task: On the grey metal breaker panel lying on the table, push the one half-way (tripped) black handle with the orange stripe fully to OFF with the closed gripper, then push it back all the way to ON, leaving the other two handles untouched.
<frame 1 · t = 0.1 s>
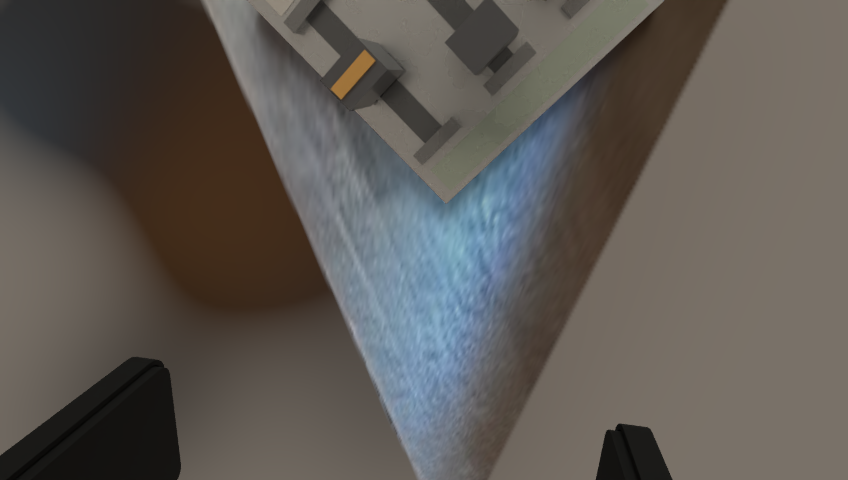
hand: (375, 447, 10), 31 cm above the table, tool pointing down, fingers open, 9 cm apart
panel: (447, 2, 36), on the table
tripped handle: (364, 75, 33), point 5 cm above the table, slide at 0.0 cm
handle middle: (483, 39, 31), point 5 cm above the table, slide at 4.0 cm
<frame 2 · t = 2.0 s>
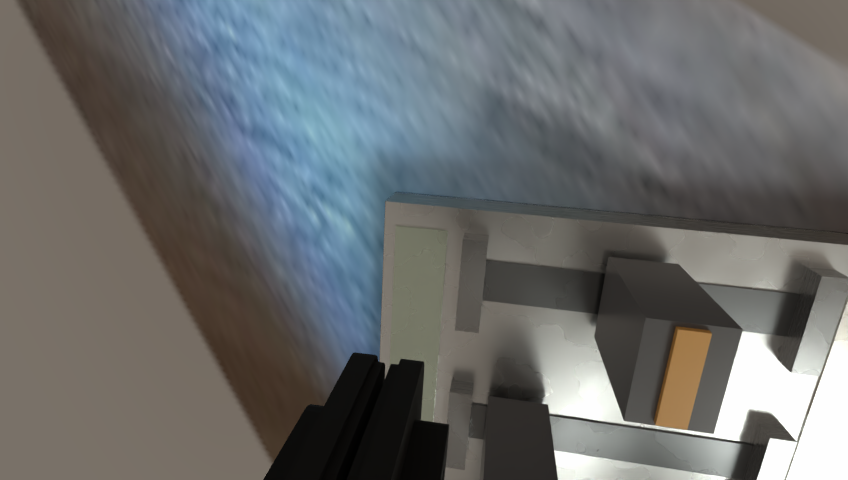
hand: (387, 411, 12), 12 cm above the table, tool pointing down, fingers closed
panel: (595, 412, 24), on the table
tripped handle: (655, 335, 17), point 5 cm above the table, slide at 0.0 cm
handle middle: (514, 478, 20), point 5 cm above the table, slide at 4.0 cm
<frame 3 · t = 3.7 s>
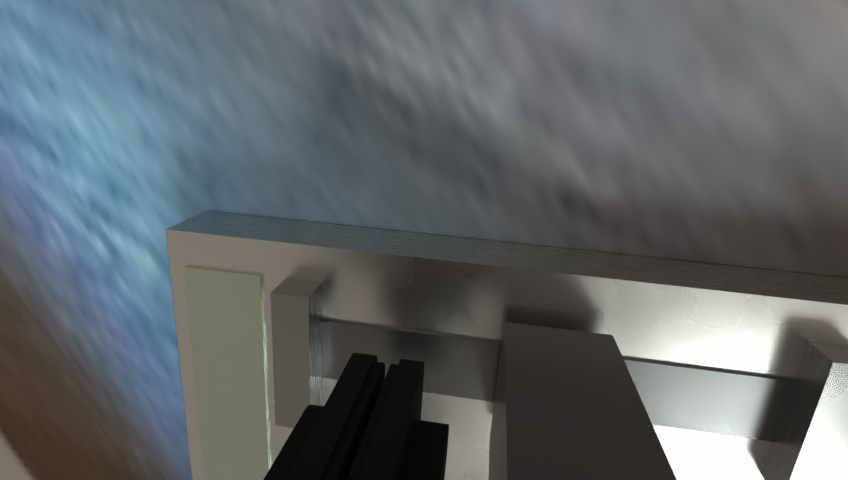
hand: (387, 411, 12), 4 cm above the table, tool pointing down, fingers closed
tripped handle: (560, 472, 10), point 5 cm above the table, slide at -0.2 cm, touching gripper
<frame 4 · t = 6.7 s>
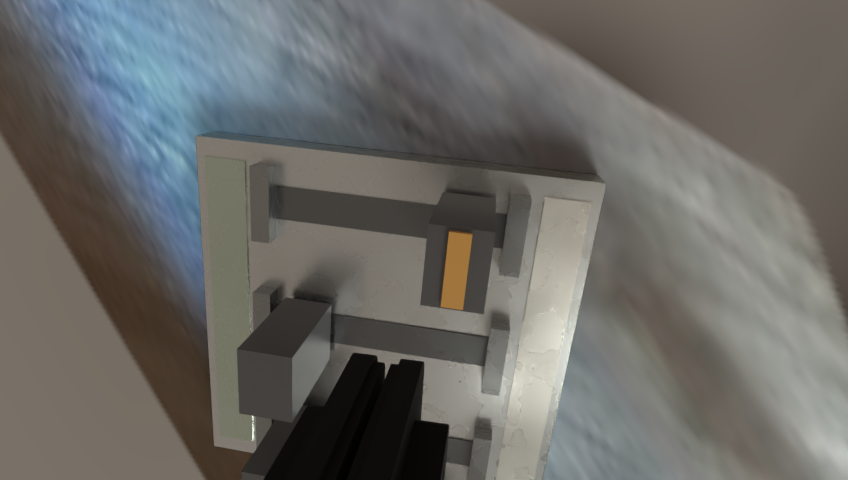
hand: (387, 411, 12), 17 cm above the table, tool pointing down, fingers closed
panel: (387, 318, 30), on the table
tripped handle: (461, 247, 22), point 5 cm above the table, slide at -4.1 cm
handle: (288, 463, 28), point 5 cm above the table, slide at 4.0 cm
handle middle: (288, 354, 25), point 5 cm above the table, slide at 4.0 cm
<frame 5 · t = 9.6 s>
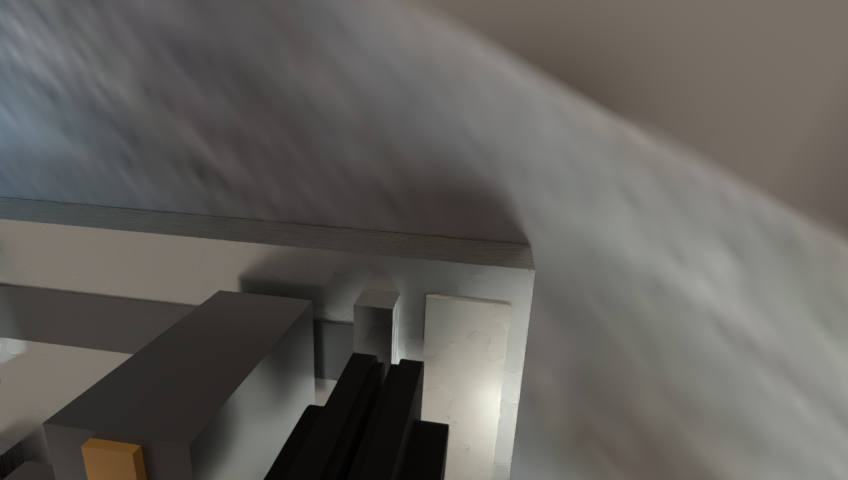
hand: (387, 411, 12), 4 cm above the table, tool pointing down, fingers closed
panel: (220, 470, 19), on the table
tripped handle: (212, 419, 11), point 5 cm above the table, slide at -3.4 cm, touching gripper
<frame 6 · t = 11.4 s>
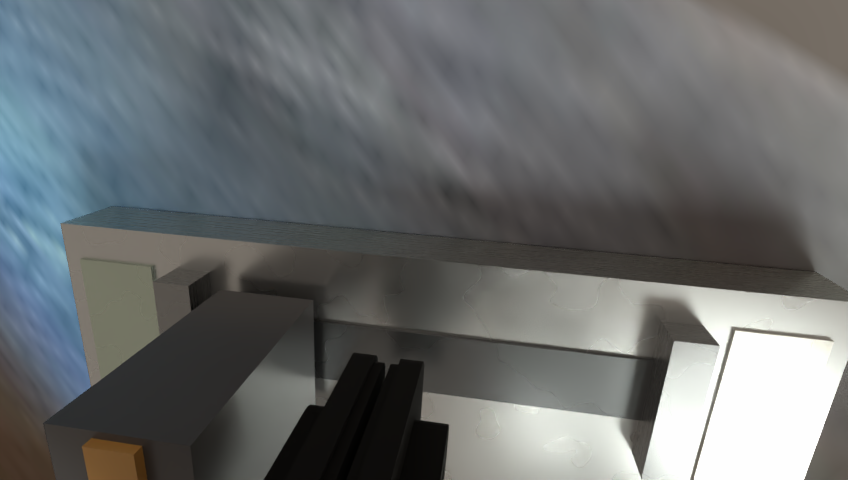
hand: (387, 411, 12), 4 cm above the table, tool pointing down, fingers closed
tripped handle: (213, 418, 11), point 5 cm above the table, slide at 4.1 cm, touching gripper
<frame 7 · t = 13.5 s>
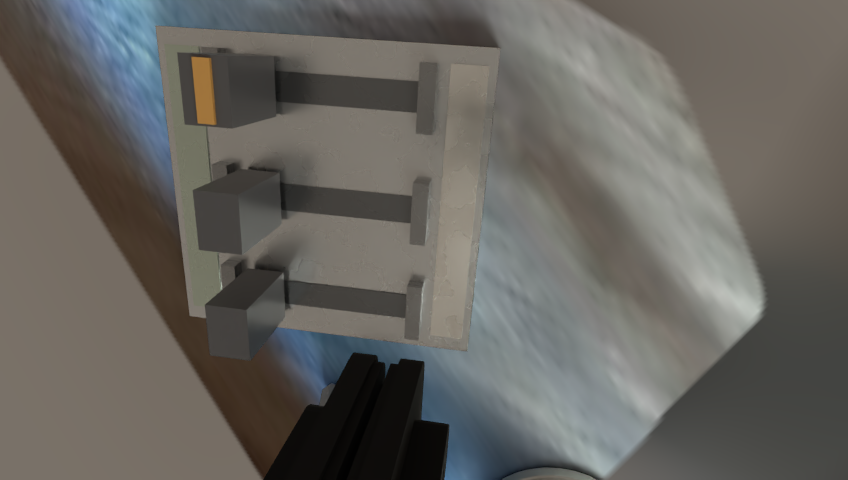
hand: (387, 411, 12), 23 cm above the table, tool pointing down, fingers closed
panel: (332, 193, 34), on the table
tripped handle: (231, 88, 27), point 5 cm above the table, slide at 4.1 cm
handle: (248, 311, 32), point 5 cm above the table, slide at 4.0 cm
handle middle: (241, 208, 30), point 5 cm above the table, slide at 4.0 cm
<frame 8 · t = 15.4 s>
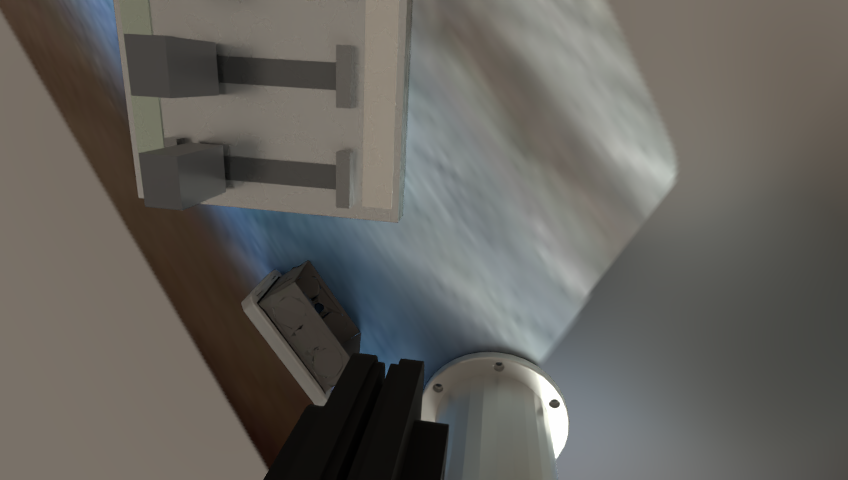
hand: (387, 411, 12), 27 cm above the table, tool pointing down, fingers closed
panel: (269, 72, 37), on the table
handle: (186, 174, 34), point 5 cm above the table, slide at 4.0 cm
handle middle: (175, 67, 32), point 5 cm above the table, slide at 4.0 cm
electrical switch: (325, 298, 42), on the table
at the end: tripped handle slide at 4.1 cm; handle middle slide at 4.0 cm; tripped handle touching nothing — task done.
